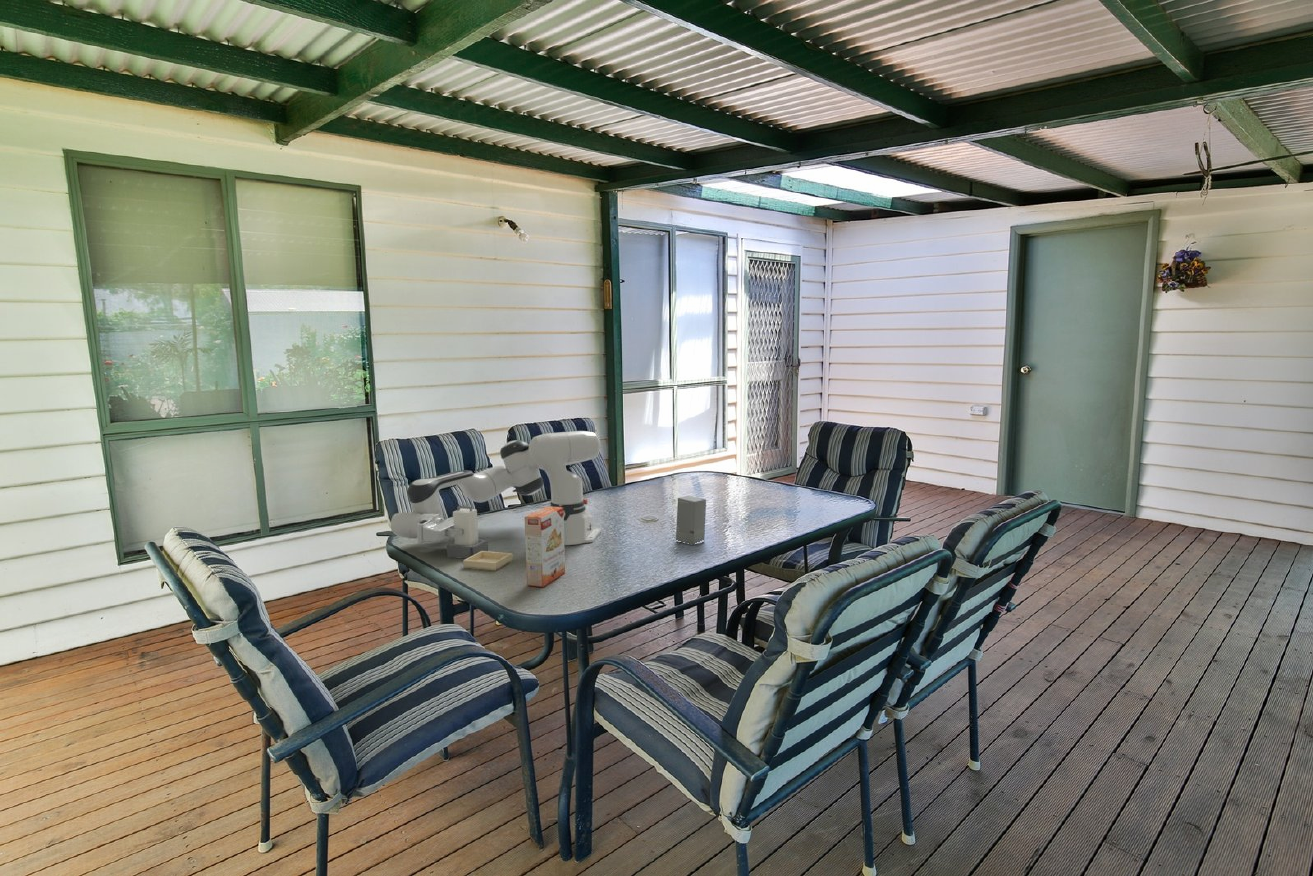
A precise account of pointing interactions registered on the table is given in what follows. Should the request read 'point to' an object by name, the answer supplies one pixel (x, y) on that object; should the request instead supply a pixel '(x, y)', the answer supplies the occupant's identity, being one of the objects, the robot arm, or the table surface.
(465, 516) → the white tall block
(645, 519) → the table surface
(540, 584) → the cracker box
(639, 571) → the table surface
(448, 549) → the dock
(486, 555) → the tray
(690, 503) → the skincare box
